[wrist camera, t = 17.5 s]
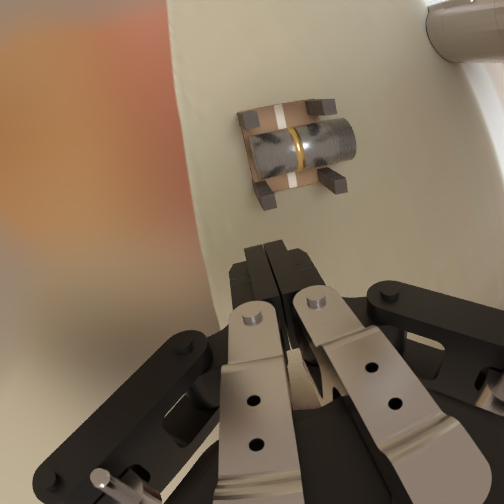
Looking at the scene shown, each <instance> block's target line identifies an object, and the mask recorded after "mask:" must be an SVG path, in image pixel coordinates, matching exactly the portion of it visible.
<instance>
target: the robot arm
mask: <svg viewBox="0 0 504 504" xmlns="http://www.w3.org/2000/svg"><path fill="white" fill-rule="evenodd" d="M428 9H429V15H428V17H427V22H426V26H427V32H428V36H429V39H430V41H431V43H432V45H433V47H434V48H435V49H436V51H437V52H438V53H439V54H440V55H441V56H442V57H443V58H445V59H446V60H448V61H450V62H454V63H467V62H490V63H504V0H449V1H445V2H441V3H438V4H434V5H431V6H428ZM263 245H264V248H263V246H262V244H261V245H257V246H253V247H249V248H245V249H244V252H245V256H246V261H244V262H240V263H236V264H233V266H232V268H231V269H230V271H229V278H230V287H231V296H232V305H233V311H232V313H231V314H230V317H229V324H228V325H227V326H226V327H225V328H224V329H223V330H221V331H219V332H217V333H216V334H213V335H211V336H209V337H207V338H206V336H205V335H204V334H203V333H202V332H199V331H196V330H187V331H183V332H180V333H178V334H175V335H173V336H172V337H171V338H169V339H168V340H167V341H166V342H165V343H164V344H163V345H162V346H161V347H160V348H159V349H158V350H157V351H156V352H155V353H154V354H153V355H152V356H151V357H150V358H149V359H148V360H147V361H146V362H145V363H144V364H143V365H142V366H141V367H140V368H139V369H138V370H137V371H136V372H135V373H134V374H133V375H132V376H131V377H130V378H129V379H128V380H127V381H125V382H124V384H123V385H121V386H120V387H119V388H118V389H117V391H115V392H114V393H113V394H112V395H111V396H110V397H109V398H108V399H107V400H106V401H105V402H104V403H103V404H102V405H101V406H100V407H99V408H98V409H97V410H96V411H95V412H94V413H93V414H92V415H91V416H90V417H89V418H88V419H87V420H86V421H85V422H84V423H83V424H82V425H81V426H80V427H79V428H78V429H77V430H76V431H75V432H73V433H72V434H71V435H70V436H69V437H68V438H67V439H66V440H65V441H64V442H63V443H62V444H61V445H60V446H59V447H58V448H57V449H56V450H55V451H54V452H53V453H52V454H51V455H50V456H49V457H48V458H47V459H46V460H45V461H44V462H43V463H42V464H41V465H40V466H39V467H38V468H37V470H36V471H35V473H34V477H33V483H32V484H33V491H34V493H35V495H36V497H37V498H38V499H39V500H40V501H41V502H43V503H44V504H162V499H161V495H160V493H161V492H162V491H163V490H164V488H165V487H166V486H167V485H168V484H169V482H170V481H171V480H172V479H173V478H174V477H175V476H176V474H177V473H178V472H179V471H180V470H181V469H182V467H183V466H184V465H185V464H186V462H187V461H188V460H189V459H190V458H191V457H192V455H193V454H194V453H195V452H196V450H197V449H198V448H199V447H200V445H201V444H202V443H203V442H204V440H205V439H206V438H207V437H208V435H209V434H210V433H211V432H212V430H213V429H214V428H215V426H216V425H217V424H218V422H219V440H217V441H216V442H215V443H213V444H212V445H211V446H210V447H209V448H208V449H207V450H206V451H205V452H204V453H203V454H202V455H201V456H200V457H199V459H198V460H197V462H196V463H195V464H194V465H193V467H192V468H191V469H190V471H189V472H188V473H187V475H186V476H185V477H184V478H183V480H182V481H181V482H180V484H179V485H178V486H177V487H176V489H175V490H174V491H173V493H172V494H171V495H170V496H169V497H168V499H167V500H166V501H165V502H164V504H504V311H503V310H499V309H496V308H492V307H488V306H485V305H481V304H478V303H474V302H471V301H467V300H463V299H460V298H456V297H453V296H449V295H445V294H442V293H438V292H434V291H431V290H427V289H423V288H420V287H416V286H413V285H409V284H405V283H401V282H398V281H381V282H378V283H376V284H374V285H372V286H371V287H370V288H369V289H368V291H367V297H357V298H346V297H341V296H340V295H339V293H338V292H337V291H336V290H335V289H333V288H331V287H329V286H326V285H325V283H324V281H323V279H322V278H321V276H320V274H319V273H318V271H317V269H316V268H315V267H314V264H313V263H312V261H311V259H310V258H309V256H308V254H307V253H306V252H304V251H302V250H300V249H298V248H297V249H293V250H289V251H287V249H286V247H285V245H284V243H283V241H282V240H277V241H273V242H269V243H265V244H263ZM264 250H265V251H264ZM407 331H408V332H411V333H414V334H417V335H420V336H423V337H426V338H429V339H432V340H435V341H438V342H439V343H441V344H442V345H443V346H444V348H445V350H439V349H436V348H433V347H430V346H427V345H424V344H421V343H418V342H415V341H412V340H410V339H407ZM287 334H288V335H287ZM288 337H289V340H288ZM289 341H290V344H291V347H292V349H296V348H300V351H301V354H302V361H303V366H304V368H305V370H306V373H307V375H308V377H309V379H310V381H311V384H312V386H313V388H314V390H315V392H316V395H317V397H318V399H319V401H320V404H321V406H322V407H320V408H317V409H309V410H295V408H294V402H293V396H292V390H291V384H290V379H289V373H288V368H287V365H288V358H287V353H286V351H288V350H290V345H289ZM184 393H185V395H184V396H183V398H182V399H181V400H180V401H179V402H178V403H177V404H176V405H175V403H176V402H177V401H178V400H179V399H180V398H181V397H182V395H183V394H184ZM174 405H175V407H174V408H173V409H172V410H171V411H170V412H169V413H168V414H167V412H168V411H169V410H170V409H171V408H172V407H173V406H174ZM166 414H167V416H166V417H165V415H166ZM164 417H165V418H164Z"/></svg>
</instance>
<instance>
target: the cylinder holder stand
mask: <svg viewBox="0 0 504 504" xmlns="http://www.w3.org/2000/svg"><path fill="white" fill-rule="evenodd" d="M237 114H238V119H239V123H240V126H241V128H242V133H243V137H244V142H245V146H246V150H247V155H248V159H249V164H250V168H251V173H252V177H253V180H252V181H253V186H254V190H255V194H256V196H257V198H258V200H259V202H260V204H261V206H262V208H263V210H264V211H265V210H269V209H274V208H277V206H276V201H275V196H274V193H273V192H275V191H280V190H284V189H289V188H294V187H298V186H303V185H307V184H312V183H317V182H320V183H321V184H323V185H324V186H325V187H327V188H328V189H329V190H331V191H332V192H333V193H334V194H341V193H346V192H348V191H347V182H346V178H345V177H343V176H342V175H340V174H338V173H337V172H335V171H333V170H331V169H330V168H328V167H326V165H323V166H318V167H313V168H309V169H305V170H303V171H298V172H292V173H287V174H283V175H279V176H275V177H271V178H267V179H263V180H259V178H258V176H257V173H256V170H255V167H254V164H253V160H252V157H251V152H250V147H249V141H248V137H249V136H253V135H257V134H262V133H266V132H271V131H275V130H280V129H284V128H287V127H292V126H293V127H294V126H300V125H305V124H310V123H316V122H319V117H318V115H323V116H325V115H332V114H337V111H336V105H335V99H317V100H315V99H309V100H302V101H295V102H289V103H283V104H277V105H271V106H266V107H261V108H256V109H251V110H246V111H241V112H238V113H237Z"/></svg>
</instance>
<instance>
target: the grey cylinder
mask: <svg viewBox="0 0 504 504" xmlns="http://www.w3.org/2000/svg"><path fill="white" fill-rule="evenodd" d="M248 141H249V147H250V152H251V157H252V160H253V164H254V167H255V170H256V173H257V176H258V178H259V180H263V179H267V178H271V177H275V176H279V175H283V174H287V173H292V172H298V171H303V170H305V169H309V168H313V167H318V166H323V165H327V164H332V163H337V162H341V161H346V160H351V159H353V158H354V157H355V154H356V140H355V136H354V132H353V130H352V127H351V126H350V124H349V122H348V121H347V120H346V119H344V118H340V119H333V120H327V121H321V122H316V123H310V124H305V125H300V126H294V127H293V126H292V127H287V128H284V129H280V130H275V131H271V132H266V133H262V134H257V135H253V136H249V137H248Z"/></svg>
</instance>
